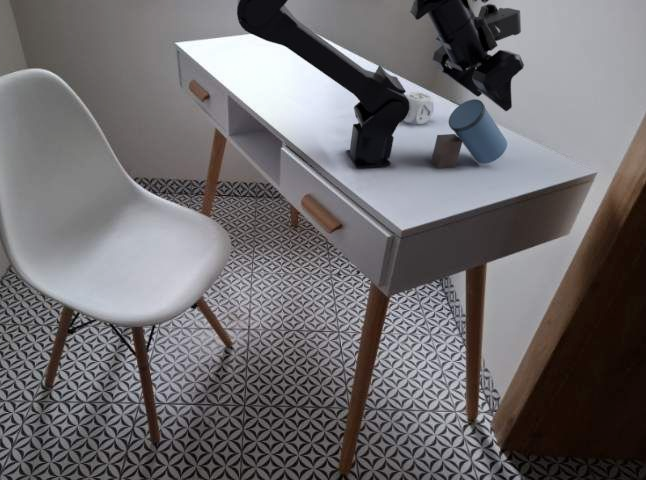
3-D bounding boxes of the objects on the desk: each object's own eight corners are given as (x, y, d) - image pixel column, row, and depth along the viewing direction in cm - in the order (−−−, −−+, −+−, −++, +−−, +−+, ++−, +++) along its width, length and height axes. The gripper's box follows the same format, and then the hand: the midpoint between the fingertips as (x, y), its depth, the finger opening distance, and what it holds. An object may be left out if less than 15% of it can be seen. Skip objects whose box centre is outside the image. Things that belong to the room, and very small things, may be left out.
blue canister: (448, 172, 91) (466, 109, 83) (433, 156, 95) (448, 95, 88) (506, 167, 93) (528, 106, 85) (488, 152, 97) (508, 92, 90)
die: (431, 122, 108) (436, 98, 104) (413, 126, 105) (418, 102, 102) (414, 113, 111) (419, 90, 108) (397, 118, 109) (401, 94, 105)
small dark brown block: (438, 168, 92) (445, 142, 88) (431, 160, 94) (437, 134, 91) (455, 167, 92) (462, 141, 89) (447, 159, 94) (454, 133, 91)
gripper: (537, -9, 70) (572, 82, 78) (470, -19, 85) (505, 58, 93) (466, 48, 72) (507, 130, 81) (414, 28, 88) (453, 99, 96)
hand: (493, 101), depth 87 cm, fingers open, 9 cm apart
